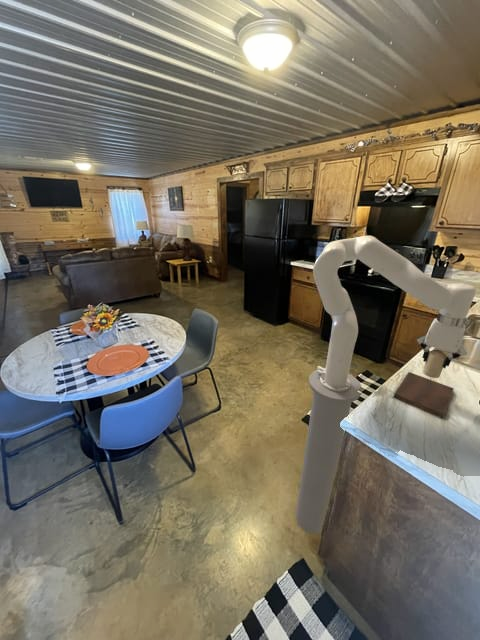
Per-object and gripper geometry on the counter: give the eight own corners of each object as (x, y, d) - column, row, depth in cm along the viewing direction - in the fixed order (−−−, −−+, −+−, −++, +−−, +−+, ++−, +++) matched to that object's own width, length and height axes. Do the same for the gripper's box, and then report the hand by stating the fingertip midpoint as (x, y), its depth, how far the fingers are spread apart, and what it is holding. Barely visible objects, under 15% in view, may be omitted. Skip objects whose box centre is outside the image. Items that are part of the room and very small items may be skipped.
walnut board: (393, 397, 103) (394, 393, 102) (407, 375, 116) (408, 371, 115) (442, 418, 92) (444, 414, 92) (452, 391, 105) (453, 388, 105)
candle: (437, 380, 96) (446, 356, 92) (420, 373, 100) (428, 351, 96) (441, 374, 100) (449, 351, 96) (424, 367, 103) (432, 345, 99)
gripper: (483, 323, 88) (464, 368, 95) (424, 310, 99) (411, 351, 106) (481, 330, 83) (461, 377, 90) (419, 315, 94) (406, 358, 101)
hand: (434, 363), depth 98 cm, fingers closed on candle, 5 cm apart
